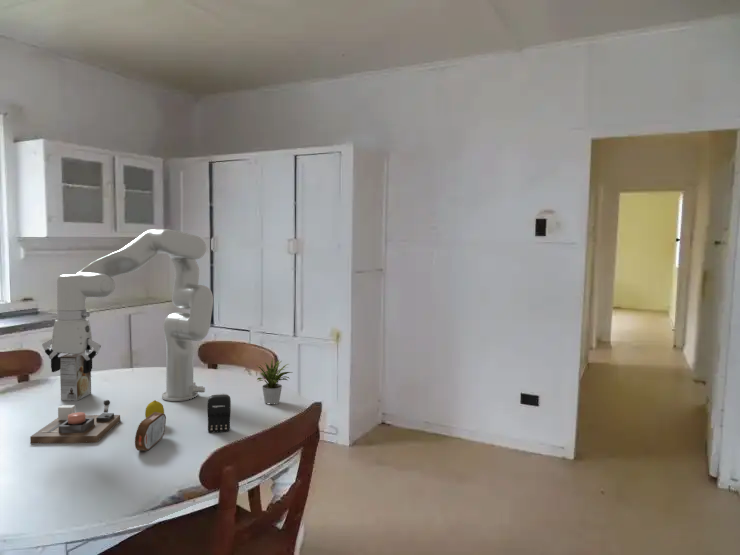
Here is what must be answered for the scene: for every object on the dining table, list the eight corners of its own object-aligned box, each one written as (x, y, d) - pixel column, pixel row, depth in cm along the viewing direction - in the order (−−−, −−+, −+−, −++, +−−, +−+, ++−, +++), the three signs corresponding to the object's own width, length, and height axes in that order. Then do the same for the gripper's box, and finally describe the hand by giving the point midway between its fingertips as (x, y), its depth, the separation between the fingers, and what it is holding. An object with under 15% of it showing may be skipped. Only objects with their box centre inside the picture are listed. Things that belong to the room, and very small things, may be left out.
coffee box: (75, 393, 196) (74, 350, 195) (91, 393, 196) (91, 351, 195) (60, 400, 187) (59, 356, 186) (77, 401, 187) (77, 356, 186)
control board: (120, 420, 168) (120, 408, 168) (96, 442, 151) (96, 429, 150) (61, 421, 167) (61, 409, 166) (30, 443, 149) (30, 429, 149)
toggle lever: (109, 412, 165) (111, 399, 166) (107, 412, 163) (109, 399, 164) (103, 412, 165) (105, 400, 166) (101, 412, 163) (103, 399, 164)
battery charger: (206, 434, 159) (206, 397, 158) (207, 429, 163) (207, 393, 162) (230, 433, 161) (230, 396, 160) (230, 428, 164) (230, 393, 163)
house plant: (261, 412, 180) (262, 366, 179) (242, 402, 190) (243, 358, 189) (296, 404, 189) (297, 360, 188) (276, 395, 200) (277, 353, 198)
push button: (88, 418, 158) (88, 412, 158) (81, 424, 153) (81, 417, 153) (72, 418, 158) (72, 412, 157) (64, 424, 153) (64, 417, 153)
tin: (157, 435, 158) (157, 407, 157) (168, 435, 158) (168, 408, 157) (133, 455, 143) (133, 425, 142) (145, 456, 143) (144, 425, 142)
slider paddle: (75, 417, 164) (75, 405, 164) (71, 420, 162) (71, 407, 162) (62, 417, 164) (61, 405, 164) (58, 420, 162) (58, 407, 161)
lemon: (167, 423, 167) (167, 399, 167) (155, 429, 162) (155, 404, 162) (153, 421, 169) (153, 396, 169) (141, 426, 164) (141, 401, 163)
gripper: (106, 315, 161) (106, 369, 162) (51, 312, 161) (51, 367, 162) (93, 318, 153) (93, 375, 154) (35, 316, 153) (35, 373, 154)
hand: (71, 371), depth 158 cm, fingers open, 9 cm apart
